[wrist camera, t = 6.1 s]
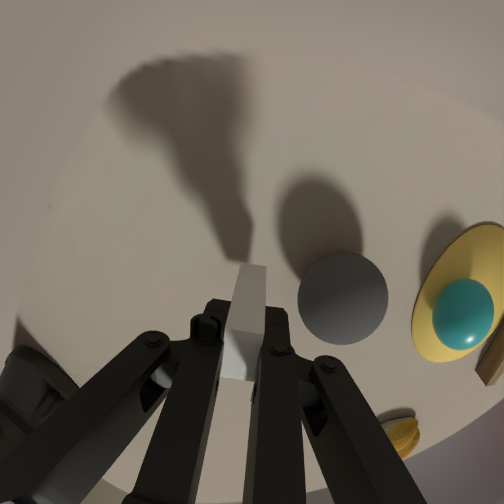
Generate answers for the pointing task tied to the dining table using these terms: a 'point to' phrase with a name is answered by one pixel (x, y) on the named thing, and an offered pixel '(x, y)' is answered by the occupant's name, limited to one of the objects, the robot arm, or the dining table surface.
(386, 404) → the dining table surface
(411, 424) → the bread roll
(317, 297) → the ball
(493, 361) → the wall
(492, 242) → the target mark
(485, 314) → the ball
